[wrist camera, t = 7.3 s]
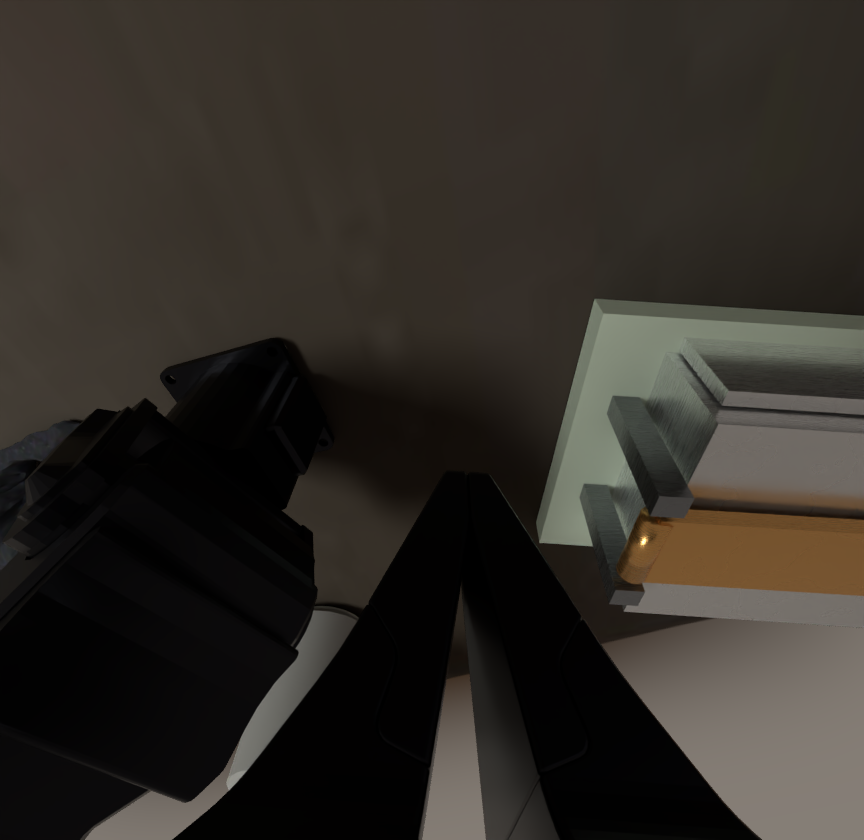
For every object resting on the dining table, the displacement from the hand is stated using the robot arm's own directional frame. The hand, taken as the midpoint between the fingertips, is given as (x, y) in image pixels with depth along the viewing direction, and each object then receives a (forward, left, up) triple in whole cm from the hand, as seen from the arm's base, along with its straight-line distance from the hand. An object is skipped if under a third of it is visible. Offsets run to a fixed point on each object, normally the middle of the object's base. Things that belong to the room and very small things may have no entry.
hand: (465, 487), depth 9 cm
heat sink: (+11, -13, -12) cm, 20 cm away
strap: (+11, -13, -6) cm, 18 cm away
